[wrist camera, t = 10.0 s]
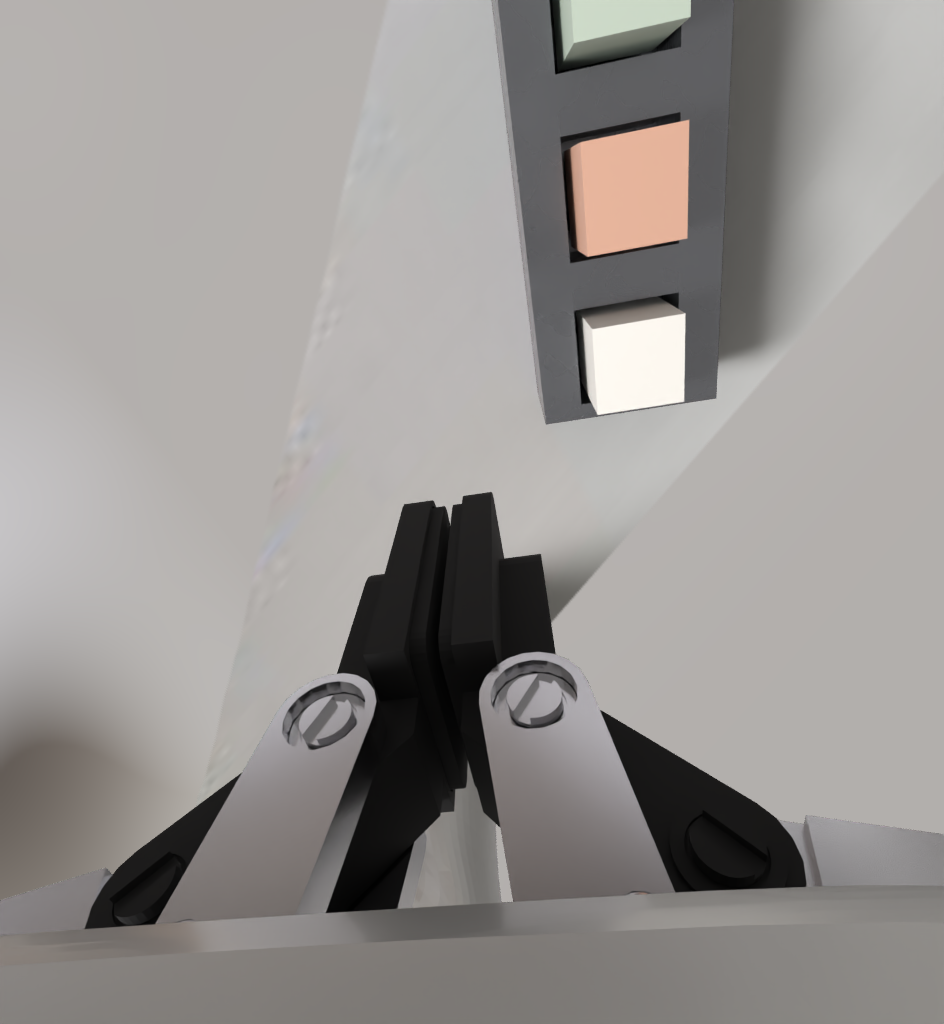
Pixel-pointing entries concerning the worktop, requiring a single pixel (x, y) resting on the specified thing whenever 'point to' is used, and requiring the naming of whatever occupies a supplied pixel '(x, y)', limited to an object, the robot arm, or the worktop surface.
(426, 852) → the robot arm
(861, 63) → the worktop surface
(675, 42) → the grey socket block
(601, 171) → the peach key
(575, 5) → the pale green block
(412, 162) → the worktop surface
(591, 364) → the ivory key
